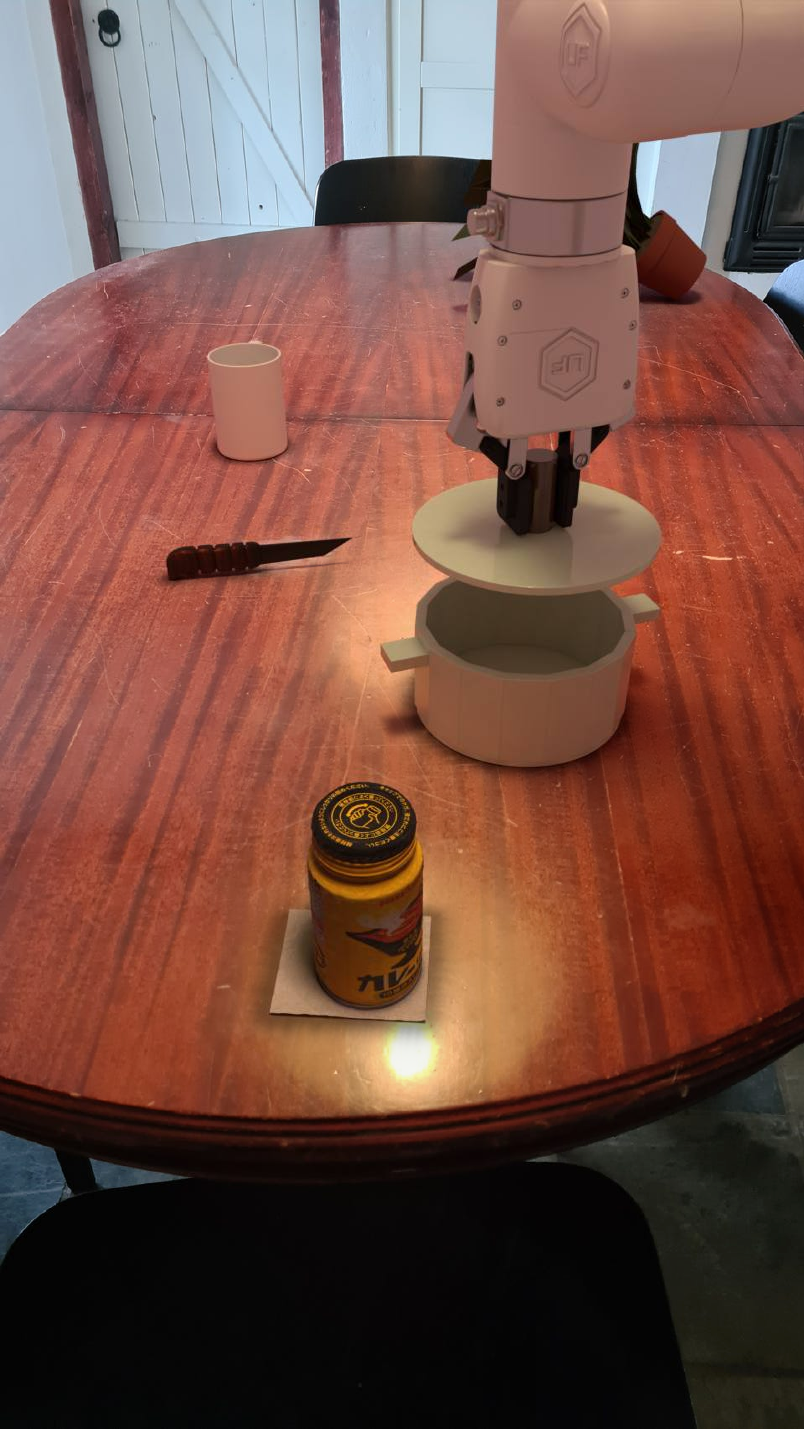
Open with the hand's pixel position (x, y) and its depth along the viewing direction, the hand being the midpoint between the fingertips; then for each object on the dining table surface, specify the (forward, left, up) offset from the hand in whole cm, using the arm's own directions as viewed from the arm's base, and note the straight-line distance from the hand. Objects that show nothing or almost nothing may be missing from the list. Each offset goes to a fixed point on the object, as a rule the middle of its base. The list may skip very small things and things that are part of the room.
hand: (535, 520), depth 69 cm
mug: (+56, +8, -15) cm, 59 cm away
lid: (0, 0, -1) cm, 1 cm away
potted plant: (+95, -51, -15) cm, 109 cm away
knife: (+26, +14, -15) cm, 34 cm away
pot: (0, 0, -15) cm, 15 cm away
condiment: (-20, +19, -15) cm, 31 cm away
